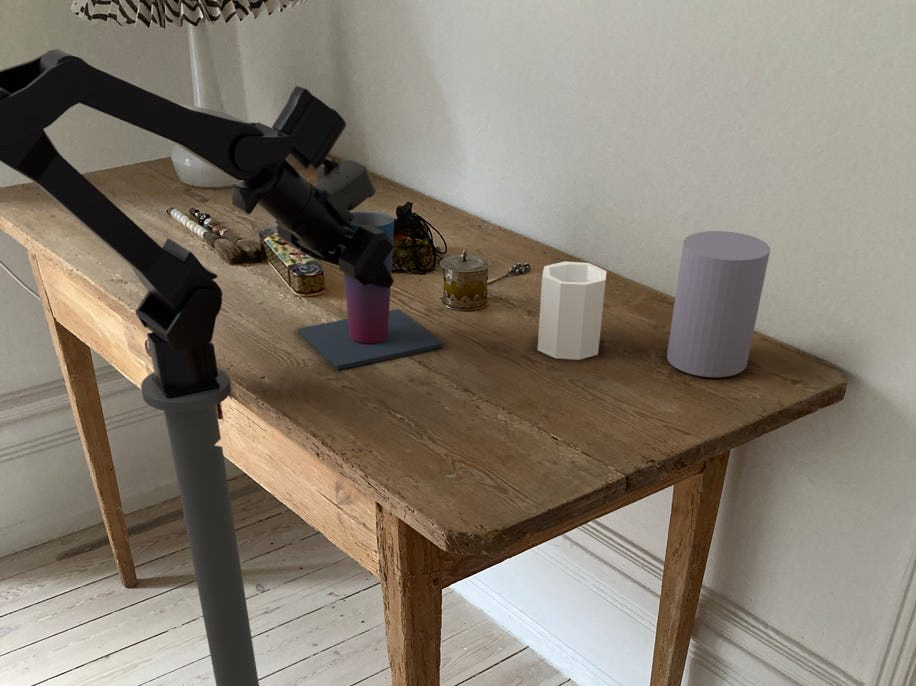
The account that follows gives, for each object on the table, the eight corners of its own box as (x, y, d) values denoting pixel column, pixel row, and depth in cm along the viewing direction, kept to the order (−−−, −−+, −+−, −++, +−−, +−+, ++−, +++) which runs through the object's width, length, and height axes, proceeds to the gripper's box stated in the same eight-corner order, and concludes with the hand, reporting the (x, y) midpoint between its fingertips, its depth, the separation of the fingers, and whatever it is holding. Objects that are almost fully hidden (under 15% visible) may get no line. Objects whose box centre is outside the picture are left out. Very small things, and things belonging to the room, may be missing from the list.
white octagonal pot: (609, 357, 134) (617, 282, 128) (546, 362, 132) (551, 287, 126) (579, 321, 143) (585, 249, 137) (520, 326, 141) (523, 253, 135)
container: (671, 341, 138) (688, 227, 129) (748, 351, 137) (771, 236, 127) (661, 373, 131) (679, 254, 121) (744, 384, 129) (768, 264, 119)
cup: (363, 350, 132) (360, 229, 123) (332, 333, 136) (327, 215, 127) (404, 338, 136) (405, 220, 127) (374, 322, 140) (372, 207, 131)
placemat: (337, 370, 129) (337, 365, 129) (298, 332, 138) (297, 328, 138) (442, 347, 135) (442, 343, 135) (398, 313, 144) (398, 308, 144)
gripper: (377, 160, 113) (455, 243, 126) (289, 124, 124) (369, 203, 137) (321, 246, 114) (404, 320, 127) (239, 203, 125) (323, 275, 138)
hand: (375, 276), depth 132 cm, fingers open, 7 cm apart
